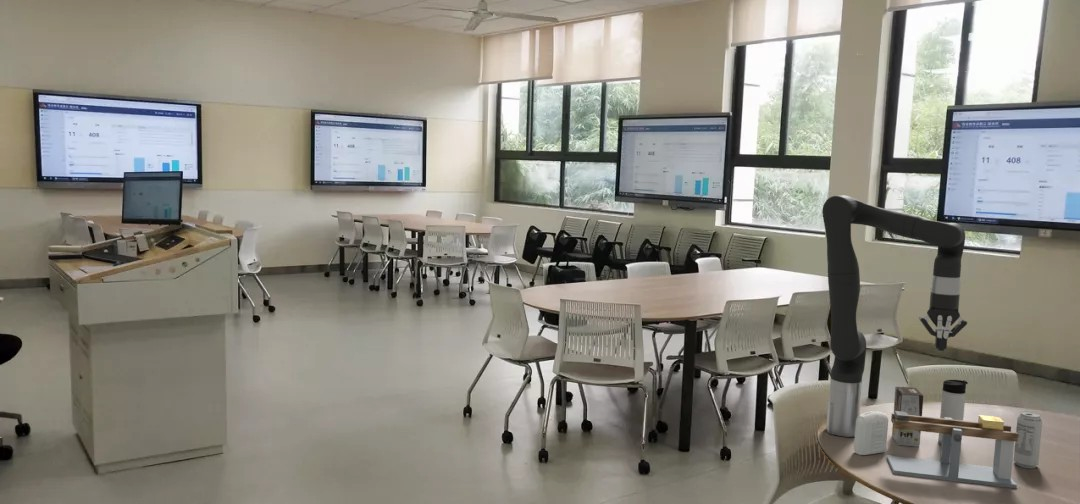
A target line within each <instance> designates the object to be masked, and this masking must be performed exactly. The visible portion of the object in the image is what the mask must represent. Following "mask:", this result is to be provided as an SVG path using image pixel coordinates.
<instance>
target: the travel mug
mask: <svg viewBox="0 0 1080 504" xmlns="http://www.w3.org/2000/svg"><path fill="white" fill-rule="evenodd" d="M942 383H943V384H942V389H941V390H942V391H941V402H940V413H939V414H940V416H939V418H943V419H944V417H948V418H952V419H953V420H962V421H964V415H965V403H966V394H967V393H966V389H967V385H968V384H969V383H968V381H967V380H965V379H964V380H961V379H947V380H944V381H943V382H942ZM942 435H943V434H942V433H938V444H940V445H941V444H942ZM951 440H952V438H951Z"/></svg>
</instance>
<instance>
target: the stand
mask: <svg viewBox="0 0 1080 504" xmlns="http://www.w3.org/2000/svg"><path fill="white" fill-rule="evenodd" d="M944 419H952V418H948V417H944ZM962 437H963V436H962V430H961V429H955V428H952V436H951V435H950V434H943V435H942V445H941V447H940V448H941V449H940V460H935V459H934V460H933V459H932V460H931V459H924V458H923V459H922V458H916V457H915V458H914V457H907V456H898V455H897V456H896V455H895V456H894V455H889V454H888V455H886V460H887V462H888V465H889V467H890V469H891V471H892V473H894V474H893V475H898V474H900V476H907V475H909V476H908V477H916V478H926V479H934V480H942V481H950V482H960V483H968V484H976V485H983V486H984V485H985V486H986V485H987V486H992V487H993V486H994V487H1001V488H1010V489H1018V488H1017V487H1018V484H1017V483H1016V482H1015V480H1013V478H1012V468H1013V461H1014V450H1015V441H1006V440H997V439H995V441H994V455H993V462H992V463H993V465H992V466H987V465H978V464H969V463H960V461H961V450H962V449H961V448H962V439H963V438H962ZM951 438H952V440H951Z"/></svg>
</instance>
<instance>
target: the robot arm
mask: <svg viewBox="0 0 1080 504" xmlns="http://www.w3.org/2000/svg"><path fill="white" fill-rule="evenodd" d="M822 206H823V207H822V209H821V210H822V211H821V212H822V218H823V225H824V231H825V236H826V259H827V282H828V283H827V284H828V295H829V305H830V314H831V316H830V317H831V321H830V323H831V324H830V342H829V343H830V350H831V352H832V354H833V355H834V360H833V365H832V367H831V370H830V380H829V381H830V383H829V393H828V394H829V398H828V400H827V414H826V415H827V416H826V431H827V434H830V435H835V436H838V437H845V438H853V437H854V438H855V428H856V419H857V417H858V416H859V415H861V414H860V413H861V401H862V400H861V399H862V398H861V397H862V383H863V375H864V371H865V367H866V366H865V364H866V355H867V340H866V339H867V338H866V337H865V335H864V334H863V332H861V331H860V330H859V329H858V325H857V324H858V323H857V309H858V304H859V298H860V292H861V278H860V265H859V262H858V258H857V256H856V255H857V254H856V252H855V248H854V245H853V241H852V225H862V226H867V227H872V228H876V229H879V230H881V231H884V232H886V233H890V234H892V235H895V236H899V237H903V238H907V239H912V240H915V241H922V242H924V243H927V244H929V245H933V246H937V255H936V256H935V258H934V262H933V271H932V278H931V284H930V297H929V306H928V308H929V309H928V310H927V312H926V314H925V315H922V316H919V318H918V319H919V321H920V322H921V324H922V326H923V327H924V328H925V329H926V331H927V332H928V333H929V334H930V335H931V336H933V337H935V340H934V347H935V349H936V350H937V351H939V352H940V351H941V352H944V351H945V350H946V349H947V348H948V347H947V344H948V339H949V338H951V337H952V338H954V337H955V336H956V335H958V333H959V332H961V331H962V330H963V329H964V328H965V327H966V326H967V325H968V321H967V320H966V319H963V318H962V317H961V314H960V312H959V311H960V310H959V306H960V297H961V296H960V295H961V271H962V257H963V253H964V248H965V243H966V232H965V230H964V228H963V227H962V225H960V224H959V223H955V222H942V221H938V220H932V219H929V218H927V217H924V216H920V215H917V214H913V213H907V212H903V211H897V210H893V209H887V208H883V207H879V206H874V205H871V204H868V203H866V202H863V201H861V200H858V199H856V198H854V197H851V196H850V195H846V194H840V195H839V194H838V195H837V194H836V195H833V196H830V197H828V198H827V199H826V200H825V202H824V204H823V205H822ZM929 319H930V320H929ZM930 321H931V322H932V324H933V325H934V329H935V330H933V328H932V326H931V324H930ZM955 323H956V325H954V324H955ZM953 325H954V326H953ZM952 326H953V327H952ZM951 327H952V329H951Z"/></svg>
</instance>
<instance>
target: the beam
mask: <svg viewBox="0 0 1080 504" xmlns="http://www.w3.org/2000/svg"><path fill="white" fill-rule="evenodd" d="M890 421H891V423H892V426H893V425H894V427H895V428H897V429H906V430H915V431H921V432H925V433H926V432H927V433H935V434H939V433H942V434H950V435H951V436H952V428H955V429H961V430H962V437H972V438H982V439H988V440H989V439H991V440H996V439H997V440H1006V441H1014V443H1015V442H1018V433H1017V432H1016V431H1012V426H1011V425H1009V424H1007V425H1006V424H1004V427H1003V431H998V430H989V429H980V428H978V421H970V420H963V421H962V420H953V419H943V418H940V417H933V416H923V415H922V416H914V415H908V414H907V412H902V411H895V413H894V412H891V419H890Z"/></svg>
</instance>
